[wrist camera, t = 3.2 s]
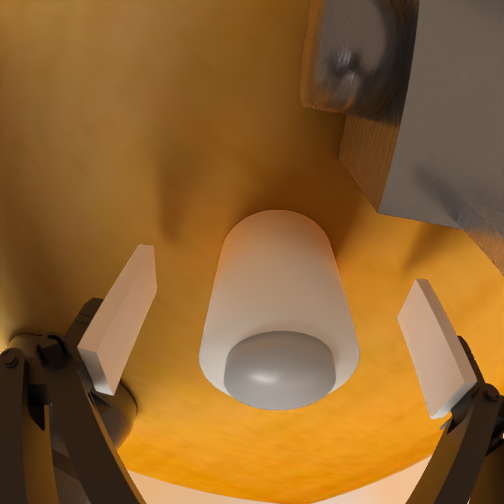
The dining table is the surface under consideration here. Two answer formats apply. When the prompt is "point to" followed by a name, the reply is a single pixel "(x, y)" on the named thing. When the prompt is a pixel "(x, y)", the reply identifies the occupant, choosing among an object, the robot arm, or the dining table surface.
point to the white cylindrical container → (278, 315)
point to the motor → (416, 106)
